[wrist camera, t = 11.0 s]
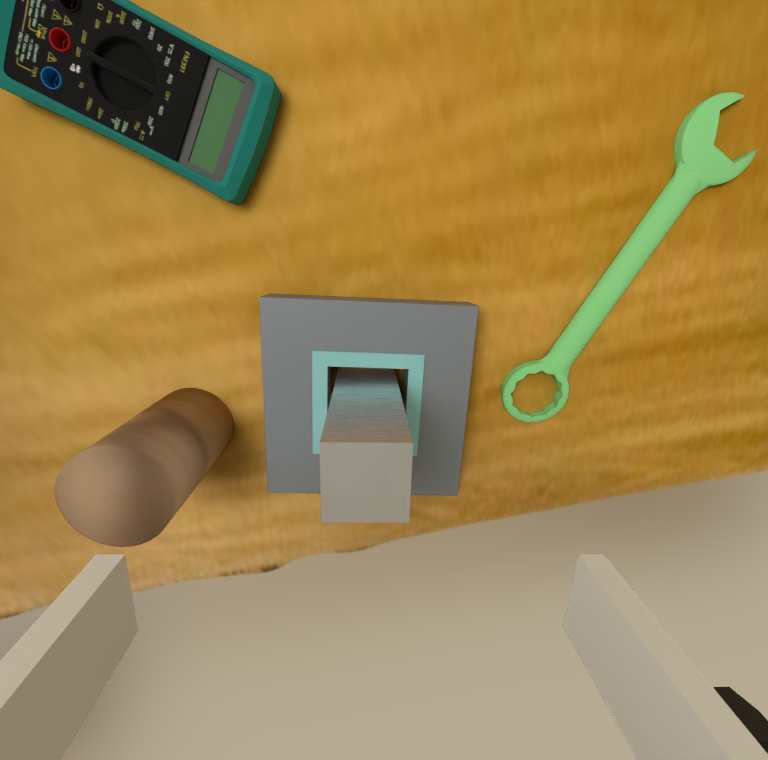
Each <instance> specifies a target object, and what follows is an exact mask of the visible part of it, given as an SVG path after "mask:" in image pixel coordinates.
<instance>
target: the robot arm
mask: <svg viewBox="0 0 768 760" xmlns="http://www.w3.org/2000/svg"><path fill="white" fill-rule="evenodd" d="M563 627H564V628H565V630H566V632H567V634H568V636H569V638H570V639H571V641H572V643H573V645H574V647H575V649H576V650H577V652H578V654H579V656H580V658H581V659H582V661H583V663H584V665H585V667H586V669H587V670H588V672H589V674H590V676H591V678H592V679H593V681H594V683H595V685H596V687H597V688H598V690H599V692H600V694H601V696H602V697H603V699H604V701H605V703H606V705H607V707H608V708H609V710H610V712H611V714H612V716H613V718H614V719H615V721H616V723H617V725H618V727H619V728H620V730H621V732H622V734H623V736H624V737H625V739H626V741H627V743H628V744H629V747H630V748H631V750H632V752H633V754H634V756H635V758H636V759H637V760H768V721H767V720H766V718H765V717H764V716H763V715H762V714H761V713H760V712H759V711H758V710H757V709H756V708H754V707H753V706H752V705H751V704H750V703H748V702H747V701H746V700H745V699H743V698H742V697H741V696H740V695H738V694H737V693H736V692H735V691H733V690H732V689H731V688H730V687H712V686H711V685H710V683H709V682H708V681H707V679H706V678H705V677H704V676H703V675H702V673H700V671H699V670H698V669H697V667H696V666H695V665H694V664H693V662H692V661H691V660H690V659H689V658H688V656H687V655H686V654H685V653H684V652H683V650H682V649H681V648H680V647H679V645H678V644H677V643H676V642H675V641H674V639H673V638H672V637H671V636H670V634H669V633H668V632H667V631H666V630H665V628H664V627H663V626H662V625H661V624H660V622H659V621H658V620H657V619H656V617H655V616H654V615H653V614H652V613H651V611H650V610H649V609H648V608H647V606H646V605H645V604H644V603H643V602H642V600H641V599H640V598H639V597H638V596H637V594H636V593H635V592H634V591H633V589H632V588H631V587H630V586H629V585H628V583H627V582H626V581H625V580H624V579H623V577H622V576H621V575H620V574H619V572H618V571H617V570H616V569H615V568H614V566H613V565H612V564H611V563H610V561H609V560H608V559H607V558H606V557H605V555H604V554H579V556H578V561H577V565H576V569H575V574H574V579H573V583H572V587H571V592H570V596H569V600H568V605H567V609H566V614H565V618H564V623H563ZM137 631H138V628H137V622H136V617H135V611H134V605H133V599H132V593H131V588H130V582H129V576H128V570H127V564H126V559H125V554H96V555H95V556H94V557H93V558H92V559H91V560H90V562H89V563H88V564H87V565H86V566H85V567H84V568H83V569H82V570H81V572H80V573H79V574H78V575H77V576H76V577H75V578H74V579H73V580H72V582H71V583H70V584H69V585H68V586H67V587H66V588H65V589H64V590H63V592H62V593H61V594H60V595H59V596H58V597H57V598H56V599H55V600H54V602H53V603H52V604H51V605H50V606H49V607H48V608H47V609H46V610H45V612H44V613H43V614H42V615H41V616H40V617H39V618H38V619H37V620H36V622H35V623H34V624H33V625H32V626H31V627H30V628H29V630H27V631H26V633H25V634H24V635H23V636H22V637H21V638H20V639H19V640H18V641H17V643H16V644H15V645H14V646H13V647H12V648H11V649H10V650H9V651H8V653H7V654H6V655H5V656H4V657H3V658H2V659H1V660H0V760H60V759H61V758H62V756H63V754H64V752H65V751H66V749H67V748H68V746H69V744H70V742H71V741H72V739H73V738H74V736H75V734H76V733H77V731H78V729H79V728H80V726H81V724H82V723H83V721H84V719H85V718H86V716H87V714H88V713H89V711H90V709H91V708H92V706H93V704H94V703H95V701H96V699H97V698H98V696H99V694H100V693H101V691H102V689H103V688H104V686H105V685H106V683H107V681H108V680H109V678H110V676H111V674H112V673H113V671H114V670H115V668H116V666H117V665H118V663H119V661H120V660H121V658H122V656H123V655H124V653H125V651H126V650H127V648H128V646H129V645H130V643H131V641H132V640H133V638H134V636H135V635H136V633H137Z"/></svg>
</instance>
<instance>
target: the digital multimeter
mask: <svg viewBox="0 0 768 760" xmlns="http://www.w3.org/2000/svg"><path fill="white" fill-rule="evenodd" d="M146 46H147V47H146ZM0 88H2V89H4V90H6V91H8V92H10V93H13V94H15V95H17V96H19V97H21V98H23V99H25V100H27V101H30V102H32V103H34V104H36V105H39V106H41V107H43V108H45V109H48V110H50V111H52V112H54V113H57V114H59V115H61V116H63V117H66V118H68V119H70V120H72V121H74V122H76V123H78V124H81V125H83V126H85V127H87V128H89V129H91V130H93V131H95V132H98V133H100V134H102V135H104V136H106V137H108V138H110V139H112V140H114V141H116V142H118V143H120V144H122V145H124V146H126V147H128V148H130V149H132V150H134V151H136V152H138V153H140V154H142V155H144V156H146V157H148V158H150V159H151V160H153V161H155V162H157V163H159V164H161V165H163V166H165V167H167V168H169V169H170V170H172V171H174V172H176V173H178V174H179V175H181V176H183V177H185V178H187V179H189V180H190V181H192V182H194V183H196V184H198V185H199V186H201V187H203V188H205V189H207V190H208V191H210V192H212V193H214V194H216V195H218V196H219V197H221V198H223V199H225V200H227V201H229V202H232V203H234V204H240V203H242V202H243V200H244V199H245V197H246V195H247V192H248V190H249V188H250V186H251V184H252V182H253V180H254V177H255V175H256V173H257V170H258V168H259V166H260V163H261V161H262V158H263V155H264V152H265V150H266V147H267V144H268V141H269V138H270V134H271V131H272V127H273V124H274V121H275V117H276V113H277V109H278V106H279V102H280V95H281V94H280V92H279V89H278V87H277V85H276V83H275V81H274V79H273V77H272V76H271V75H270V74H268V73H266V72H264V71H262V70H260V69H258V68H256V67H254V66H252V65H250V64H248V63H246V62H244V61H242V60H240V59H238V58H236V57H234V56H232V55H230V54H228V53H226V52H224V51H222V50H220V49H218V48H216V47H214V46H212V45H210V44H208V43H206V42H204V41H202V40H200V39H198V38H197V37H195V36H193V35H191V34H189V33H187V32H185V31H184V30H182V29H180V28H178V27H176V26H174V25H173V24H171V23H169V22H167V21H165V20H163V19H161V18H160V17H158V16H156V15H154V14H152V13H150V12H149V11H147V10H145V9H143V8H141V7H139V6H138V5H136V4H134V3H133V2H131V1H129V0H0ZM96 93H97V94H96Z"/></svg>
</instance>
